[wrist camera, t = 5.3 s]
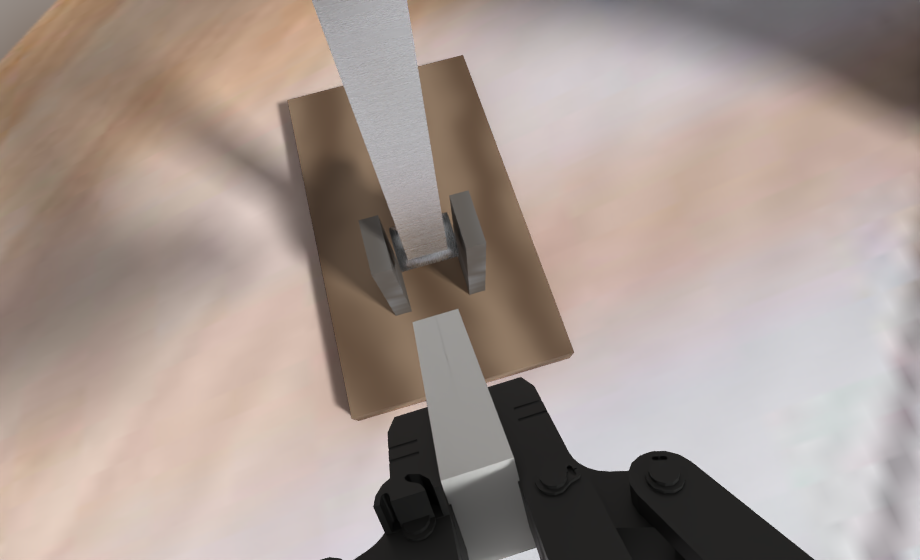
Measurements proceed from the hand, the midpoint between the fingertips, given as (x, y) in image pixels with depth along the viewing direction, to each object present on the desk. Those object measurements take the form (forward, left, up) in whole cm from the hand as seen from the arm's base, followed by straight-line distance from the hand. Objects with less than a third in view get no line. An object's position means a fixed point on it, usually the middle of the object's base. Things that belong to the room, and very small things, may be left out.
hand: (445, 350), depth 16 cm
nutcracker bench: (0, -15, -21) cm, 26 cm away
